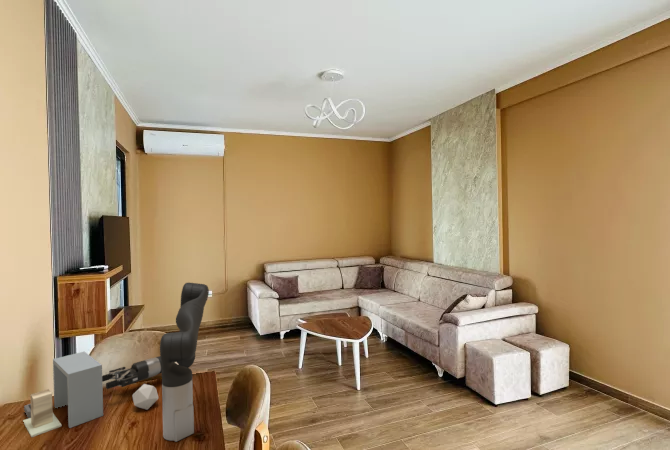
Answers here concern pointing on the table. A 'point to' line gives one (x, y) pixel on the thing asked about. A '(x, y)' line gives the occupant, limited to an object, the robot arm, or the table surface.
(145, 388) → the die
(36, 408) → the birch block
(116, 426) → the table surface
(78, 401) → the grey tunnel
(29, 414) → the trap pit
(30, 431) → the pad
